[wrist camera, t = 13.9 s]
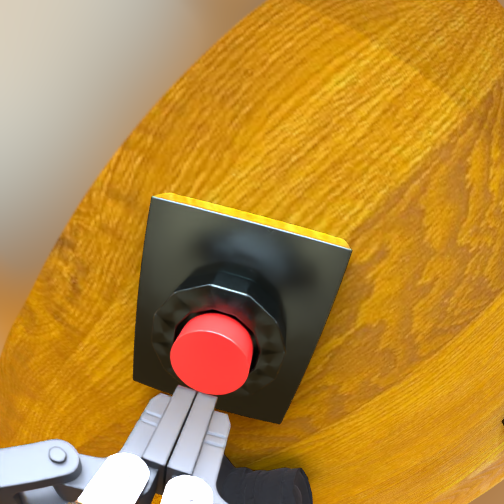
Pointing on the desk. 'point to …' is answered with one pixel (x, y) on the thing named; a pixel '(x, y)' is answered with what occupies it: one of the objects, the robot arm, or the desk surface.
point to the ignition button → (212, 354)
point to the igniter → (235, 295)
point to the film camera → (262, 485)
